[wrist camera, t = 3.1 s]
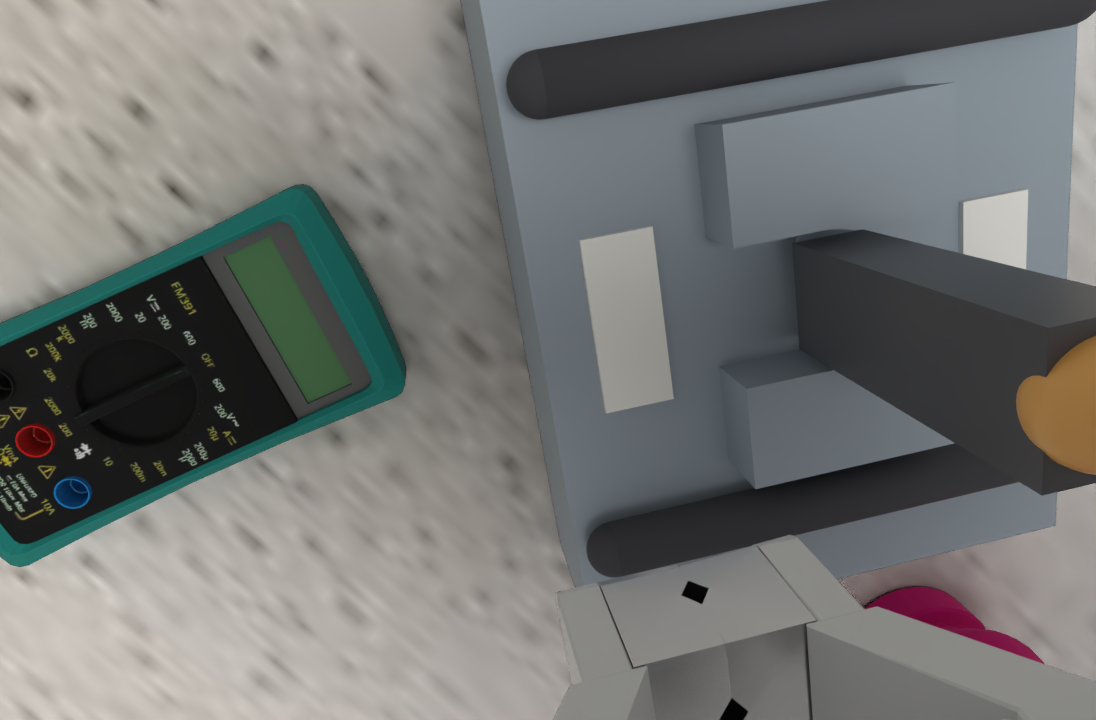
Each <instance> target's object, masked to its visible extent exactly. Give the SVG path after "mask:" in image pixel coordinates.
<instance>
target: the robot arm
mask: <svg viewBox="0 0 1096 720" xmlns="http://www.w3.org/2000/svg"><path fill="white" fill-rule="evenodd" d="M556 604H557V609H558V614H559V620H560V625H561V630H562V636H563V641H564V646H565V652H566V657H567V662H568V668H569V673H570V678H571V682H572V685H571V686H569V688H568V690H567V692H566V694H565V696H564V698H563V700H562V702H561V704H560V706H559V708H558V710H557V712H556V714H555V716H554V718H553V720H1096V682H1095V681H1092V680H1089V679H1086V678H1083V677H1080V676H1077V675H1074V674H1071V673H1068V672H1066V671H1063V670H1060V669H1057V668H1054V667H1051V666H1048V665H1045V664H1042V663H1040V662H1037V661H1034V660H1031V659H1028V658H1025V657H1022V656H1019V655H1016V654H1013V653H1011V652H1008V651H1005V650H1002V649H999V648H996V647H993V646H990V645H987V644H985V643H982V642H979V641H976V640H973V639H970V638H967V637H964V636H961V635H958V634H956V633H953V632H950V631H947V630H944V629H941V628H938V627H935V626H932V625H930V624H927V623H924V622H921V621H918V620H915V619H912V618H909V617H906V616H903V615H901V614H898V613H895V612H892V611H889V610H886V609H883V608H880V607H873V608H869V609H864V608H863V607H862V605H861V604H860V603H859V602H858V601H857V600H856V599H855V598H854V597H853V596H852V595H851V594H850V593H849V592H848V591H847V590H846V588H845V587H844V586H843V585H842V584H841V583H840V582H839V581H838V580H837V579H836V578H835V577H834V576H833V575H832V574H831V572H830V571H829V570H828V569H827V568H826V567H825V566H824V565H823V564H822V563H821V562H820V561H819V560H818V559H817V558H816V556H815V555H814V554H813V553H812V552H811V551H810V550H809V549H808V548H807V547H806V546H805V545H804V544H803V543H802V542H801V540H800V539H799V538H798V537H795V536H793V535H787V536H783V537H780V538H776V539H772V540H769V541H765V542H762V543H758V544H755V545H752V546H751V547H747V548H743V549H739V550H736V551H732V552H728V553H724V554H720V555H716V556H712V557H709V558H705V559H701V560H697V561H693V562H689V563H685V564H682V565H678V566H677V565H673V566H669V567H664V568H660V569H655V570H651V571H646V572H642V573H637V574H633V575H628V576H624V577H619V578H614V579H610V580H605V581H601V582H597V584H596V583H592V584H588V585H584V586H579V587H575V588H571V589H567V590H563V591H559V592H556Z"/></svg>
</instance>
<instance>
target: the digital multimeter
mask: <svg viewBox="0 0 1096 720" xmlns="http://www.w3.org/2000/svg"><path fill="white" fill-rule="evenodd" d="M190 260H191V261H190ZM179 265H180V266H179ZM170 269H171V270H170ZM159 274H160V275H159ZM148 279H149V280H148ZM137 284H138V285H137ZM53 322H54V323H53ZM33 331H34V332H33ZM138 334H140V335H138ZM24 335H25V336H24ZM114 335H115V336H114ZM22 336H23V337H22ZM152 337H153V338H152ZM15 339H16V340H15ZM101 339H102V340H101ZM13 340H14V341H13ZM99 340H100V341H99ZM11 341H12V342H11ZM6 343H7V344H6ZM4 344H5V345H4ZM2 345H3V346H2ZM89 346H90V347H89ZM81 353H82V354H81ZM80 354H81V355H80ZM405 378H406V366H405V362H404V359H403V357H402V354H401V352H400V349H399V347H398V345H397V342H396V340H395V337H394V335H393V332H392V330H391V328H390V325H389V323H388V321H387V319H386V317H385V314H384V312H383V310H382V308H381V305H380V303H379V301H378V299H377V296H376V294H375V292H374V291H373V289H372V287H371V285H370V283H369V281H368V279H367V277H366V275H365V273H364V271H363V269H362V267H361V265H360V263H359V262H358V260H357V258H356V256H355V255H354V253H353V251H352V250H351V248H350V246H349V245H348V243H347V241H346V240H345V238H344V236H343V234H342V233H341V231H340V229H339V228H338V226H337V225H336V223H335V221H334V220H333V218H332V217H331V215H330V213H329V212H328V210H327V209H326V207H325V205H324V204H323V202H322V201H321V199H320V198H319V196H318V194H317V193H316V192H315V191H314V190H313V189H312V188H311V187H309V186H306V185H304V184H302V185H295V186H293V187H291V188H289V189H286V190H284V191H283V192H281V193H279V194H277V195H275V196H273V197H271V198H269V199H267V200H265V201H263V202H261V203H259V204H257V205H255V206H253V207H251V208H249V209H247V210H245V211H243V212H241V213H239V214H237V215H235V216H233V217H231V218H229V219H227V220H225V221H223V222H221V223H219V224H217V225H216V226H214V227H212V228H210V229H208V230H206V231H204V232H202V233H200V234H198V235H196V236H194V237H192V238H190V239H188V240H186V241H184V242H182V243H180V244H178V245H176V246H174V247H172V248H169V249H167V250H165V251H163V252H161V253H159V254H157V255H154V256H152V257H150V258H148V259H146V260H144V261H142V262H139V263H137V264H135V265H133V266H131V267H129V268H127V269H124V270H122V271H120V272H118V273H116V274H114V275H112V276H109V277H107V278H105V279H103V280H101V281H99V282H97V283H95V284H92V285H90V286H88V287H86V288H83V289H81V290H78V291H76V292H74V293H71V294H69V295H67V296H64V297H62V298H59V299H57V300H55V301H52V302H50V303H47V304H45V305H43V306H40V307H38V308H36V309H33V310H31V311H28V312H26V313H24V314H21V315H19V316H16V317H14V318H12V319H9V320H7V321H5V322H2V323H0V557H1V558H2V559H4V560H5V561H6V562H8V563H9V564H10V565H13V566H17V567H22V566H27V565H30V564H32V563H34V562H36V561H38V560H39V559H41V558H43V557H45V556H47V555H49V554H51V553H53V552H55V551H57V550H59V549H61V548H63V547H64V546H66V545H68V544H70V543H72V542H74V541H76V540H78V539H80V538H82V537H84V536H86V535H87V534H89V533H91V532H93V531H95V530H97V529H99V528H101V527H103V526H105V525H107V524H109V523H111V522H113V521H115V520H117V519H119V518H121V517H123V516H125V515H127V514H129V513H131V512H133V511H136V510H138V509H140V508H142V507H144V506H146V505H148V504H150V503H152V502H154V501H156V500H158V499H160V498H162V497H164V496H166V495H168V494H170V493H172V492H174V491H176V490H178V489H180V488H182V487H184V486H186V485H188V484H190V483H192V482H195V481H197V480H199V479H202V478H204V477H206V476H208V475H211V474H213V473H215V472H217V471H220V470H222V469H224V468H226V467H229V466H231V465H233V464H235V463H238V462H240V461H242V460H244V459H247V458H249V457H251V456H254V455H256V454H258V453H260V452H263V451H265V450H267V449H269V448H272V447H274V446H276V445H278V444H281V443H283V442H285V441H288V440H290V439H293V438H295V437H298V436H300V435H303V434H305V433H308V432H310V431H313V430H315V429H318V428H320V427H322V426H325V425H327V424H330V423H332V422H335V421H337V420H340V419H342V418H345V417H347V416H350V415H352V414H355V413H357V412H360V411H362V410H365V409H367V408H370V407H372V406H375V405H377V404H379V403H382V402H384V401H387V400H389V399H392V398H394V397H396V396H398V395H399V394H400V393H401V392H402V391H403V389H404V386H405ZM86 429H87V430H86ZM189 431H190V432H189ZM188 432H189V433H188ZM187 433H188V434H187ZM180 439H181V440H180ZM170 445H171V446H170ZM159 449H160V450H159ZM133 451H135V452H133ZM146 451H148V452H146Z"/></svg>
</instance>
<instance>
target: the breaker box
mask: <svg viewBox="0 0 1096 720" xmlns="http://www.w3.org/2000/svg"><path fill="white" fill-rule="evenodd" d="M460 1H461V6H462V12H463V17H464V22H465V28H466V33H467V39H468V44H469V50H470V55H471V61H472V66H473V71H474V77H475V82H476V88H477V93H478V99H479V104H480V109H481V115H482V120H483V126H484V131H485V137H486V142H487V148H488V153H489V158H490V164H491V169H492V175H493V180H494V186H495V191H496V197H497V202H498V207H499V213H500V218H501V224H502V229H503V235H504V240H505V246H506V251H507V256H508V262H509V267H510V273H511V278H512V284H513V289H514V295H515V300H516V305H517V311H518V316H519V322H520V327H521V333H522V338H523V343H524V349H525V354H526V360H527V365H528V371H529V376H530V382H531V387H532V392H533V398H534V403H535V409H536V414H537V420H538V425H539V431H540V436H541V441H542V447H543V452H544V458H545V463H546V469H547V474H548V480H549V485H550V490H551V496H552V501H553V507H554V512H555V518H556V523H557V528H558V534H559V539H560V544H561V547H562V550H563V553H564V556H565V559H566V562H567V565H568V568H569V571H570V574H571V577H572V580H573V583H574V586H575V587H579V586H584V585H588V584H592V583H596V584H597V582H601V581H605V580H610V579H614V578H612V577H607V576H604V575H602V574H600V573H598V572H597V571H596V570H595V569H594V568H593V567H592V566H591V564H590V562H589V560H588V557H587V552H586V547H587V541H588V538H589V536H590V534H591V533H592V532H593V530H594V529H595V528H597V527H598V526H599V525H601V524H603V523H606V522H610V521H614V520H619V519H623V518H627V517H632V516H636V515H640V514H645V513H649V512H653V511H658V510H662V509H666V508H671V507H675V506H679V505H684V504H688V503H692V502H697V501H701V500H705V499H710V498H714V497H718V496H723V495H727V494H731V493H736V492H740V491H744V490H749V489H753V488H755V489H759V488H763V487H768V486H772V485H776V484H781V483H785V482H789V481H794V480H798V479H802V478H807V477H811V476H815V475H820V474H824V473H828V472H833V471H837V470H841V469H846V468H850V467H854V466H859V465H863V464H867V463H872V462H876V461H880V460H885V459H889V458H893V457H898V456H902V455H906V454H911V453H915V452H919V451H924V450H928V449H932V448H937V447H941V446H945V445H950V444H954V442H952V441H950V440H949V439H947V438H946V437H944V436H942V435H941V434H939V433H937V432H936V431H934V430H932V429H931V428H929V427H927V426H926V425H924V424H922V423H921V422H919V421H917V420H916V419H914V418H912V417H911V416H909V415H907V414H906V413H904V412H902V411H901V410H899V409H897V408H896V407H894V406H893V405H891V404H889V403H888V402H886V401H884V400H883V399H881V398H879V397H878V396H876V395H874V394H873V393H871V392H869V391H868V390H866V389H864V388H863V387H861V386H859V385H858V384H856V383H854V382H853V381H851V380H849V379H848V378H846V377H844V376H843V375H841V374H839V373H838V372H836V371H835V370H833V369H831V368H830V367H828V366H826V365H825V364H823V363H821V362H820V361H818V360H816V359H815V358H813V357H811V356H810V355H808V354H806V353H805V352H803V351H801V350H800V349H799V336H798V321H797V307H796V292H795V277H794V262H793V247H792V243H796V239H797V237H799V236H801V235H804V234H809V233H814V232H819V231H824V230H835V229H848V230H855V231H856V230H861V229H864V230H868V231H872V232H876V233H880V234H884V235H888V236H892V237H896V238H900V239H905V240H909V241H913V242H917V243H921V244H925V245H929V246H933V247H937V248H941V249H945V250H949V251H953V252H957V253H961V254H965V255H969V256H973V257H978V258H982V259H986V260H990V261H994V262H998V263H1002V264H1006V265H1010V266H1014V267H1018V268H1022V269H1026V270H1030V271H1034V272H1038V273H1042V274H1046V275H1051V276H1055V277H1059V278H1063V279H1066V274H1067V252H1068V229H1069V206H1070V184H1071V161H1072V138H1073V116H1074V93H1075V71H1076V48H1077V25H1078V24H1075V25H1071V26H1068V27H1062V28H1057V29H1051V30H1045V31H1040V32H1034V33H1028V34H1023V35H1017V36H1011V37H1006V38H1000V39H995V40H989V41H983V42H978V43H972V44H966V45H961V46H955V47H949V48H944V49H938V50H933V51H927V52H921V53H916V54H910V55H904V56H899V57H893V58H887V59H882V60H876V61H871V62H865V63H859V64H854V65H848V66H842V67H837V68H831V69H825V70H820V71H814V72H809V73H803V74H797V75H792V76H786V77H780V78H775V79H769V80H763V81H758V82H752V83H746V84H741V85H735V86H730V87H724V88H718V89H713V90H707V91H701V92H696V93H690V94H684V95H679V96H673V97H668V98H662V99H656V100H651V101H645V102H639V103H634V104H628V105H622V106H617V107H611V108H606V109H600V110H594V111H589V112H583V113H577V114H572V115H566V116H560V117H555V118H549V119H541V120H537V119H531V118H529V117H526V116H524V115H523V114H521V113H520V112H519V111H517V110H516V109H515V107H514V106H513V105H512V103H511V101H510V99H509V97H508V93H507V87H506V82H507V75H508V72H509V70H510V68H511V66H512V64H513V63H514V62H515V60H516V59H517V58H518V57H520V56H521V55H522V54H524V53H526V52H528V51H531V50H536V49H542V48H548V47H554V46H559V45H565V44H571V43H577V42H583V41H589V40H595V39H601V38H607V37H613V36H619V35H625V34H631V33H637V32H643V31H649V30H655V29H660V28H666V27H672V26H678V25H684V24H690V23H696V22H702V21H708V20H714V19H720V18H726V17H732V16H738V15H744V14H750V13H756V12H762V11H767V10H773V9H779V8H785V7H791V6H797V5H803V4H809V3H815V2H821V1H827V0H460ZM1056 501H1057V492H1055V493H1051V494H1047V495H1043V496H1042V495H1040V494H1038V493H1037V492H1035V491H1033V490H1032V489H1030V488H1028V487H1027V486H1025V485H1023V484H1022V483H1020V482H1017V483H1013V484H1009V485H1005V486H1001V487H996V488H992V489H988V490H984V491H980V492H975V493H971V494H967V495H963V496H959V497H954V498H950V499H946V500H942V501H938V502H933V503H929V504H925V505H921V506H917V507H912V508H908V509H904V510H900V511H896V512H891V513H887V514H883V515H879V516H875V517H870V518H866V519H862V520H858V521H854V522H849V523H845V524H841V525H837V526H833V527H828V528H824V529H820V530H816V531H812V532H807V533H803V534H799V535H795V537H798V538H799V539H800V540H801V542H802V543H803V544H804V545H805V546H806V547H807V548H808V549H809V550H810V551H811V552H812V553H813V554H814V555H815V556H816V558H817V559H818V560H819V561H820V562H821V563H822V564H823V565H824V566H825V567H826V568H827V569H828V570H829V571H830V572H831V574H832V575H833V576H834V577H835V578H836V579H840V578H844V577H848V576H852V575H856V574H860V573H864V572H868V571H872V570H876V569H880V568H884V567H888V566H893V565H897V564H901V563H905V562H909V561H913V560H917V559H921V558H925V557H929V556H933V555H937V554H941V553H946V552H950V551H954V550H958V549H962V548H966V547H970V546H974V545H978V544H982V543H986V542H990V541H995V540H999V539H1003V538H1007V537H1011V536H1015V535H1019V534H1023V533H1027V532H1031V531H1035V530H1039V529H1043V528H1048V527H1052V526H1055V524H1056ZM749 547H751V546H749ZM744 548H747V547H744ZM740 549H743V548H740ZM736 550H739V549H736ZM736 550H732V551H736ZM732 551H728V552H732ZM728 552H723V553H719V554H715V555H711V556H707V557H702V558H698V559H694V560H690V561H686V562H681V563H677V564H673V565H677V566H678V565H682V564H685V563H689V562H693V561H697V560H701V559H705V558H709V557H712V556H716V555H720V554H724V553H728ZM673 565H669V566H673ZM669 566H665V567H669ZM660 568H664V567H660ZM660 568H656V569H660ZM652 570H655V569H652ZM648 571H651V570H648ZM644 572H646V571H644ZM639 573H642V572H639ZM635 574H637V573H635ZM631 575H633V574H631ZM627 576H628V575H627ZM623 577H624V576H623ZM617 578H619V577H617Z"/></svg>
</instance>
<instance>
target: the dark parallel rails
mask: <svg viewBox="0 0 1096 720" xmlns="http://www.w3.org/2000/svg"><path fill="white" fill-rule="evenodd" d="M1095 11H1096V0H827V1H821V2H815V3H809V4H803V5H797V6H791V7H785V8H779V9H773V10H767V11H762V12H756V13H750V14H744V15H738V16H732V17H726V18H720V19H714V20H708V21H702V22H696V23H690V24H684V25H678V26H672V27H666V28H660V29H655V30H649V31H643V32H637V33H631V34H625V35H619V36H613V37H607V38H601V39H595V40H589V41H583V42H577V43H571V44H565V45H559V46H554V47H548V48H542V49H536V50H531V51H528V52H526V53H524V54H522V55H521V56H520V57H518V58H517V59H516V60H515V62H514V63H513V64H512V66H511V68H510V70H509V72H508V75H507V82H506V87H507V93H508V97H509V99H510V101H511V103H512V105H513V106H514V107H515V109H516V110H517V111H519V112H520V113H521V114H523V115H524V116H526V117H529V118H531V119H537V120H541V119H549V118H555V117H560V116H566V115H572V114H577V113H583V112H589V111H594V110H600V109H606V108H611V107H617V106H622V105H628V104H634V103H639V102H645V101H651V100H656V99H662V98H668V97H673V96H679V95H684V94H690V93H696V92H701V91H707V90H713V89H718V88H724V87H730V86H735V85H741V84H746V83H752V82H758V81H763V80H769V79H775V78H780V77H786V76H792V75H797V74H803V73H809V72H814V71H820V70H825V69H831V68H837V67H842V66H848V65H854V64H859V63H865V62H871V61H876V60H882V59H887V58H893V57H899V56H904V55H910V54H916V53H921V52H927V51H933V50H938V49H944V48H949V47H955V46H961V45H966V44H972V43H978V42H983V41H989V40H995V39H1000V38H1006V37H1011V36H1017V35H1023V34H1028V33H1034V32H1040V31H1045V30H1051V29H1057V28H1062V27H1068V26H1071V25H1075V24H1078V23H1079V22H1081V21H1083V20H1085V19H1087V18H1088V17H1089V16H1090V15H1091V14H1093V13H1094V12H1095ZM1017 482H1018V481H1017V480H1015V479H1013V478H1012V477H1010V476H1008V475H1007V474H1005V473H1004V472H1002V471H1000V470H999V469H997V468H995V467H994V466H992V465H990V464H989V463H987V462H985V461H984V460H982V459H980V458H979V457H977V456H975V455H974V454H972V453H970V452H969V451H967V450H965V449H964V448H962V447H960V446H959V445H957V444H955V443H954V444H950V445H945V446H941V447H937V448H932V449H928V450H924V451H919V452H915V453H911V454H906V455H902V456H898V457H893V458H889V459H885V460H880V461H876V462H872V463H867V464H863V465H859V466H854V467H850V468H846V469H841V470H837V471H833V472H828V473H824V474H820V475H815V476H811V477H807V478H802V479H798V480H794V481H789V482H785V483H781V484H776V485H772V486H768V487H763V488H759V489H755V488H753V489H749V490H744V491H740V492H736V493H731V494H727V495H723V496H718V497H714V498H710V499H705V500H701V501H697V502H692V503H688V504H684V505H679V506H675V507H671V508H666V509H662V510H658V511H653V512H649V513H645V514H640V515H636V516H632V517H627V518H623V519H619V520H614V521H610V522H606V523H603V524H601V525H599V526H598V527H597V528H595V529H594V530H593V532H592V533H591V534H590V536H589V538H588V541H587V547H586V552H587V557H588V560H589V562H590V564H591V566H592V567H593V568H594V569H595V570H596V571H597V572H598V573H600V574H602V575H604V576H607V577H612V578H617V577H623V576H627V575H631V574H635V573H639V572H644V571H648V570H652V569H656V568H660V567H665V566H669V565H673V564H677V563H681V562H686V561H690V560H694V559H698V558H702V557H707V556H711V555H715V554H719V553H723V552H728V551H732V550H736V549H740V548H744V547H749V546H752V545H755V544H758V543H762V542H765V541H769V540H772V539H776V538H780V537H783V536H787V535H793V536H795V535H799V534H803V533H807V532H812V531H816V530H820V529H824V528H828V527H833V526H837V525H841V524H845V523H849V522H854V521H858V520H862V519H866V518H870V517H875V516H879V515H883V514H887V513H891V512H896V511H900V510H904V509H908V508H912V507H917V506H921V505H925V504H929V503H933V502H938V501H942V500H946V499H950V498H954V497H959V496H963V495H967V494H971V493H975V492H980V491H984V490H988V489H992V488H996V487H1001V486H1005V485H1009V484H1013V483H1017Z"/></svg>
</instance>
